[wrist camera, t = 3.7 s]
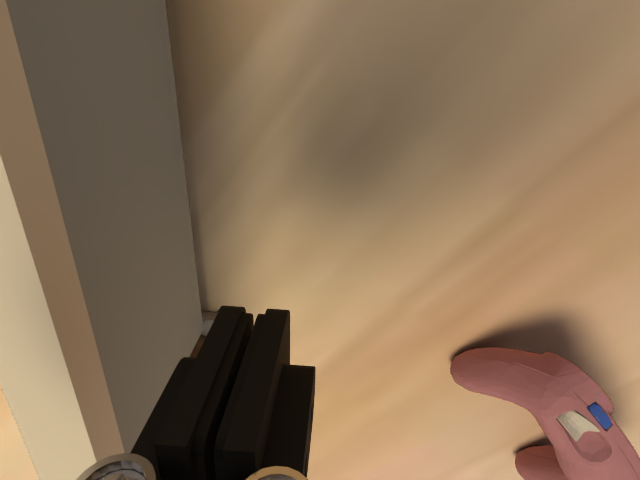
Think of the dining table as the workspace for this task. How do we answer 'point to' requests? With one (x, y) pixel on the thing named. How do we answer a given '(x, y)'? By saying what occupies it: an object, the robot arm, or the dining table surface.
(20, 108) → the bar
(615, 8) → the dining table surface
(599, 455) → the video game controller
